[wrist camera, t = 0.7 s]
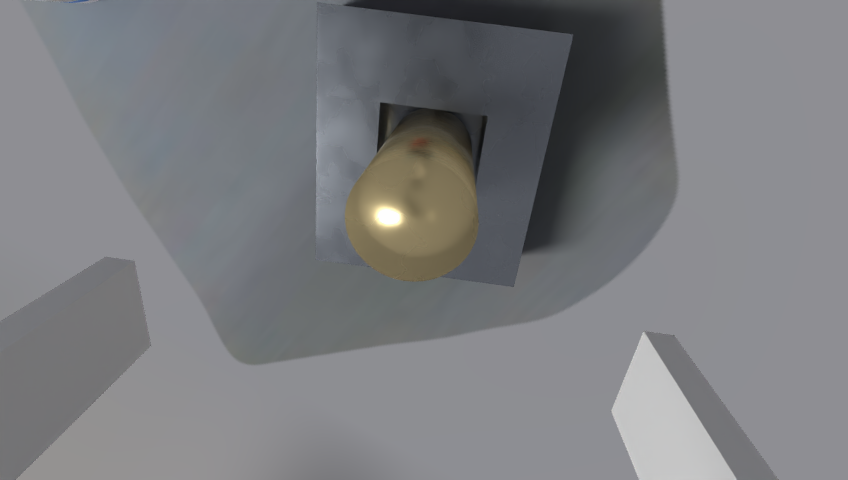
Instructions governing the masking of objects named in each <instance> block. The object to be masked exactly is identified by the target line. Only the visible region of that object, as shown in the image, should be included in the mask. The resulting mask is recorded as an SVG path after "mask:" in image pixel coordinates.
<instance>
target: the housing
mask: <svg viewBox="0 0 848 480" xmlns="http://www.w3.org/2000/svg"><path fill="white" fill-rule="evenodd" d="M573 35H574V34H567V33H559V32H551V31H543V30H535V29H527V28H519V27H511V26H503V25H495V24H487V23H479V22H471V21H463V20H455V19H447V18H439V17H431V16H423V15H415V14H407V13H399V12H391V11H383V10H375V9H367V8H359V7H351V6H343V5H335V4H327V3H319V2H317V135H316V260H322V261H329V262H337V263H344V264H351V265H358V266H366V267H371V266H369V265H368V264H367V263H366V262H365V261H364V260H363V259H362V258H361V257H360V256H359V255H358V253H357V252H356V251H355V249H354V247H353V246H352V244H351V242H350V239H349V237H348V234H347V231H346V225H345V208H346V203H347V199H348V196H349V194H350V192H351V190H352V188H353V186H354V185H355V183H356V182H357V180H358V179H359V178H360V176H361V175H362V173H363V172H364V171H365V169H366V168H367V167H368V165H369V164H370V162H371V161H372V160H373V158H374V157H375V155H376V154H377V153H378V151H379V150H380V148H381V147H382V146H383V144H384V143H385V142H386V140H387V139H388V137H389V136H390V135H391V133H392V132H393V130H394V129H395V128H396V126H397V125H398V124H399V122H400V121H401V120H402V119H403V118H404V117H405V116H407V115H408V114H410V113H412V112H414V111H416V110H419V109H423V108H429V109H437V110H444V111H448V112H450V113H452V114H453V115H455V116H456V117H457V118H458V119H459V120H460V121H461V122H462V123H463V124H464V126H465V127H466V129H467V131H468V133H469V136H470V139H471V145H472V155H473V165H474V176H475V186H476V196H477V207H478V219H479V226H478V233H477V237H476V241H475V243H474V246H473V248H472V250H471V251H470V253H469V255H468V256H467V257H466V258H465V260H464V261H463V262H462V263H461V264H460V265H459V266H457V267H456V268H455V269H453V270H452V271H450V272H449V273H447V274H445V275H443V276H440V277H446V278H453V279H460V280H467V281H475V282H482V283H489V284H496V285H504V286H511V287H514V284H515V279H516V275H517V271H518V267H519V263H520V258H521V254H522V250H523V246H524V241H525V237H526V233H527V229H528V225H529V220H530V216H531V212H532V208H533V204H534V199H535V195H536V191H537V187H538V182H539V178H540V174H541V170H542V166H543V161H544V157H545V153H546V149H547V145H548V140H549V136H550V132H551V128H552V123H553V119H554V115H555V111H556V107H557V102H558V98H559V94H560V90H561V86H562V81H563V77H564V73H565V69H566V64H567V60H568V56H569V52H570V48H571V43H572V39H573Z"/></svg>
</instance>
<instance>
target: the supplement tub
mask: <svg viewBox="0 0 848 480" xmlns="http://www.w3.org/2000/svg"><path fill="white" fill-rule="evenodd" d="M35 1H52V2H68V3H91V2H96V1H99V0H35Z"/></svg>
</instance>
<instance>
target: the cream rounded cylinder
mask: <svg viewBox="0 0 848 480" xmlns="http://www.w3.org/2000/svg"><path fill="white" fill-rule="evenodd" d="M345 225H346V231H347V234H348V237H349V239H350V242H351V244H352V246H353V247H354V249H355V251H356V252H357V253H358V255H359V256H360V257H361V258H362V259H363V260H364V261H365V262H366V263H367V264H368V265H369V266H371V267H372V268H373V269H375V270H376V271H378V272H380V273H382V274H384V275H386V276H388V277H391V278H394V279H398V280H403V281H426V280H431V279H435V278H438V277H440V276H443V275H445V274H447V273H449V272H450V271H452V270H453V269H455V268H456V267H457V266H459V265H460V264H461V263H462V262H463V261H464V260H465V258H466V257H467V256H468V255H469V253H470V251H471V250H472V248H473V246H474V243H475V241H476V237H477V233H478V226H479V219H478V207H477V196H476V186H475V176H474V165H473V155H472V145H471V139H470V136H469V133H468V131H467V129H466V127H465V126H464V124H463V123H462V122H461V121H460V120H459V119H458V118H457V117H456V116H455V115H453V114H452V113H450V112H448V111H444V110H437V109H429V108H423V109H419V110H416V111H414V112H412V113H410V114H408V115H407V116H405V117H404V118H403V119H402V120H401V121H400V122H399V124H398V125H397V126H396V128H395V129H394V130H393V132H392V133H391V135H390V136H389V137H388V139H387V140H386V142H385V143H384V144H383V146H382V147H381V148H380V150H379V151H378V153H377V154H376V155H375V157H374V158H373V160H372V161H371V162H370V164H369V165H368V167H367V168H366V169H365V171H364V172H363V173H362V175H361V176H360V178H359V179H358V180H357V182H356V183H355V185H354V186H353V188H352V190H351V192H350V194H349V196H348V199H347V203H346V208H345Z"/></svg>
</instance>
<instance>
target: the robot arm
mask: <svg viewBox="0 0 848 480" xmlns="http://www.w3.org/2000/svg"><path fill="white" fill-rule="evenodd" d="M150 346H151V342H150V337H149V332H148V327H147V322H146V317H145V312H144V307H143V301H142V296H141V291H140V286H139V281H138V277H137V271H136V266H135V261H132V260H125V259H118V258H111V257H105V258H103V259H101V260H100V261H98V262H96V263H95V264H93V265H92V266H90V267H88V268H87V269H85V270H83V271H82V272H80V273H78V274H77V275H75V276H74V277H72V278H70V279H69V280H67V281H65V282H64V283H62V284H60V285H59V286H57V287H56V288H54V289H52V290H51V291H49V292H47V293H46V294H44V295H42V296H41V297H40V298H38V299H36V300H34V301H33V302H31V303H29V304H28V305H26V306H25V307H23V308H21V309H20V310H18V311H16V312H15V313H13V314H12V315H10V316H8V317H7V318H5V319H3V320H2V321H0V480H16V479H17V478H18V477H19V476H20V475H21V474H22V473H23V472H24V471H25V470H26V469H27V468H28V467H29V466H30V465H31V464H32V463H33V462H34V461H35V460H36V459H37V458H38V457H39V456H40V455H41V454H42V453H43V452H44V451H45V450H46V449H47V448H48V447H49V446H50V445H51V444H52V443H53V442H54V441H55V440H56V439H57V438H58V437H59V436H60V435H61V434H62V433H63V432H64V431H65V430H66V429H67V428H68V427H69V426H70V425H71V424H72V423H73V422H74V421H75V420H76V419H77V418H79V416H80V415H82V413H83V412H85V410H87V409H88V408H89V407H90V406H91V405H92V404H93V403H94V402H95V401H96V399H98V398H99V397H100V396H101V395H102V394H103V393H104V392H105V391H106V390H107V389H108V388H109V387H110V386H111V385H112V384H113V383H114V382H115V381H116V380H117V379H118V378H119V377H120V376H121V375H122V374H123V373H124V372H125V371H126V370H127V369H128V368H129V367H130V366H131V365H132V364H133V363H134V362H135V361H136V360H137V359H138V358H139V357H140V356H141V355H142V354H143V353H144V352H145V351H146V350H147V349H148V348H149V347H150ZM611 412H612V414H613V417H614V419H615V421H616V424H617V426H618V429H619V431H620V434H621V436H622V439H623V441H624V444H625V446H626V449H627V451H628V453H629V456H630V458H631V461H632V463H633V466H634V468H635V471H636V473H637V476H638V478H639V480H778V478H777V477H776V476H775V475H774V473H773V471H772V470H771V469H770V467H769V466H768V464H767V463H766V462H765V460H764V459H763V458H762V456H761V455H760V453H759V452H758V451H757V449H756V448H755V446H754V445H753V444H752V442H751V441H750V440H749V438H748V437H747V435H746V434H745V433H744V431H743V430H742V429H741V427H740V426H739V424H738V423H737V422H736V420H735V419H734V417H733V416H732V415H731V414H730V412H729V411H728V409H727V408H726V406H725V405H724V404H723V402H722V401H721V399H720V398H719V397H718V395H717V394H716V393H715V391H714V390H713V389H712V387H711V386H710V384H709V383H708V381H707V380H706V379H705V377H704V376H703V375H702V373H701V372H700V370H699V369H698V368H697V366H696V365H695V363H694V362H693V361H692V359H691V358H690V357H689V355H688V354H687V353H686V351H685V350H684V348H683V347H682V346H681V344H680V343H679V341H678V340H677V339H676V337H675V336H674V335H668V334H660V333H653V332H646V331H644V332H643V334H642V337H641V339H640V342H639V344H638V347H637V349H636V351H635V354H634V356H633V359H632V362H631V364H630V366H629V369H628V371H627V374H626V376H625V379H624V381H623V384H622V386H621V389H620V391H619V393H618V396H617V398H616V401H615V403H614V406H613V408H612V411H611Z"/></svg>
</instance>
